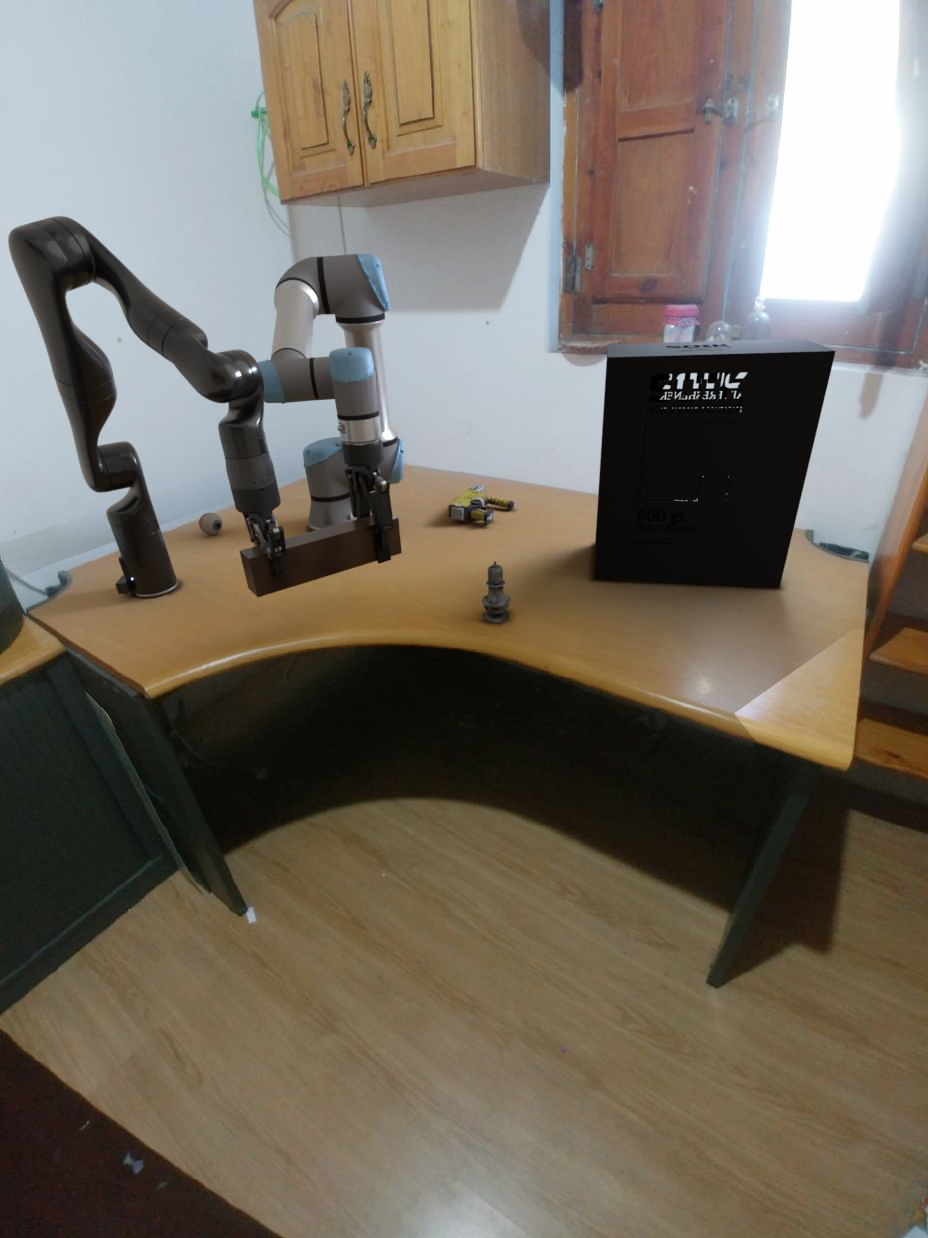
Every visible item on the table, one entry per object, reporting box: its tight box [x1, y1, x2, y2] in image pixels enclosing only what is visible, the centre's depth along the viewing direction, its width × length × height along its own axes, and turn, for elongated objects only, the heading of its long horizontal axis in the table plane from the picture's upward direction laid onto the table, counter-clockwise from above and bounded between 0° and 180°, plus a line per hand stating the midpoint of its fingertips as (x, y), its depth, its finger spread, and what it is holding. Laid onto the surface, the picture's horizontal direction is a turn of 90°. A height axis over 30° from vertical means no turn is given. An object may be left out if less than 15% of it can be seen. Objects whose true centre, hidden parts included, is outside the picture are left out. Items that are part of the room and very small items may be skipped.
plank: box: [239, 514, 403, 598], centre depth 115 cm, size 30×5×8 cm, turn 127°
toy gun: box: [447, 482, 515, 525], centre depth 172 cm, size 5×24×15 cm
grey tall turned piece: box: [480, 560, 512, 623], centre depth 117 cm, size 6×6×12 cm
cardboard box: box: [592, 337, 836, 589], centre depth 125 cm, size 38×20×45 cm, turn 78°
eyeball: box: [198, 512, 223, 536], centre depth 167 cm, size 6×6×6 cm
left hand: (273, 571), depth 110 cm, fingers closed on plank, 5 cm apart
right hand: (377, 556), depth 122 cm, fingers closed on plank, 5 cm apart
